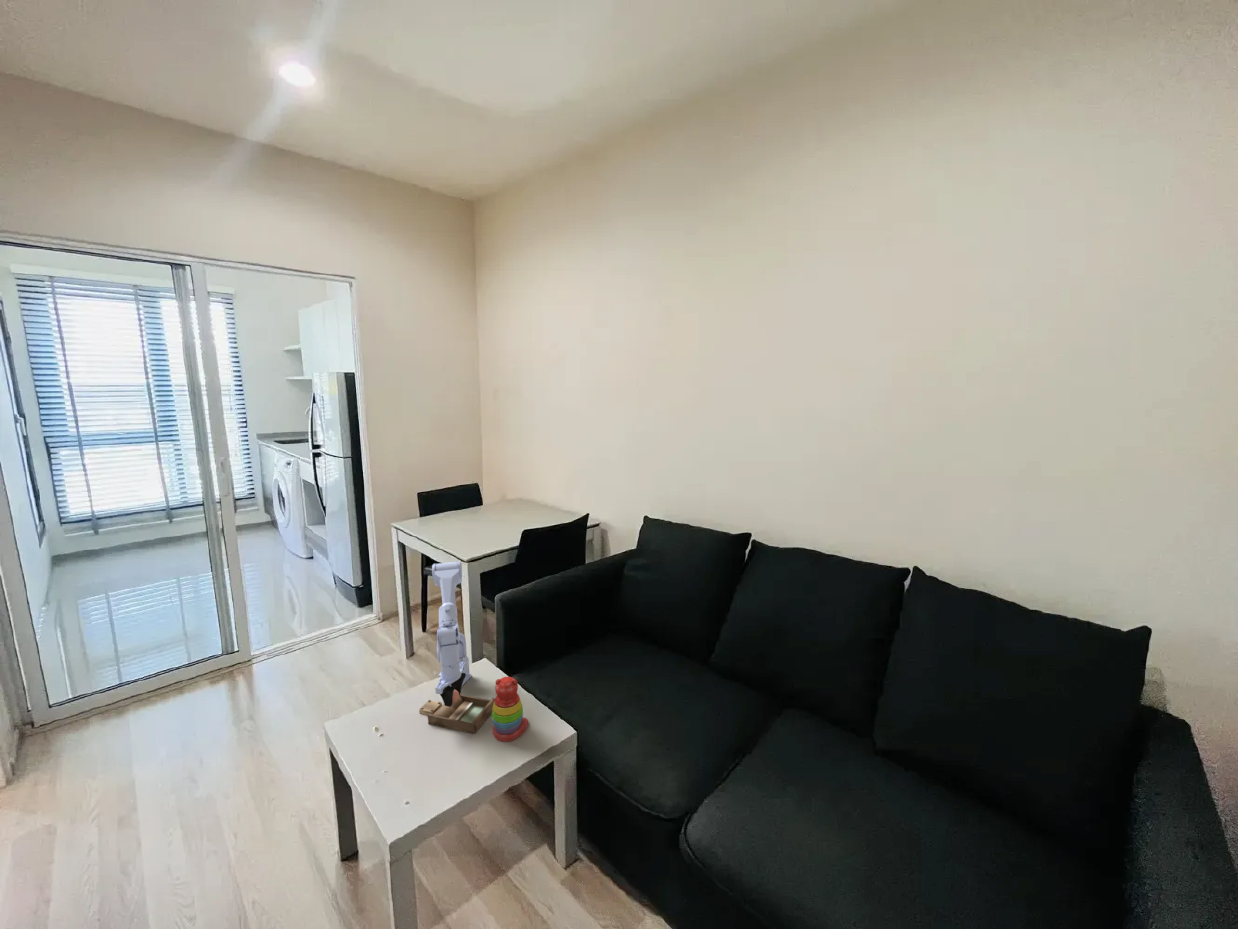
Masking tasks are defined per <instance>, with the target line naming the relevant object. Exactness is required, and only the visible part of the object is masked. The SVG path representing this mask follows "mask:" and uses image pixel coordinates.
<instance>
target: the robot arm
mask: <svg viewBox="0 0 1238 929" xmlns="http://www.w3.org/2000/svg"><path fill="white" fill-rule="evenodd" d="M431 575H432V581H433V584H434V585H435V586H436V587H440V593H441V594H440V595H441V601H442V602H441V603H442V605H440V606H439V607H438V629H437V631H436V640H437V641H436V658H437V660H436V661H437V662H439V663H440V672H439V673H438V677H439V680H438V683H437V685H436V686H435V688H434V690H435V694H436V695H440V697H441V699H442V701H443V702H442V703H443V704H445V706H449V707H451V706H452V700H453V692H454V689H455V690H457V691H458V692H459V696H460V694H461V692H462V687H463V685H464V684H465V683H466V682H468V681H469V679H470V678H471V677H472V676H473V675H472V673H470V660H469V656H468V655H467V640H466V636H465V634H463V633H462V632H460V627H459V621H458V607H457V602H456V588H457V585H459V584H462V581H463V565H462V561H461V560H459V561H450V562H443V563H433V564H432V565H431Z"/></svg>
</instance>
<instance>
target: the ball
mask: <svg viewBox="0 0 1238 929" xmlns="http://www.w3.org/2000/svg"><path fill="white" fill-rule="evenodd" d="M458 699H459V692H458V691H457V690H455V689H454V692H453V700H452V704H454V703H456V702H457V701H458Z"/></svg>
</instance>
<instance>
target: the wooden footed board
mask: <svg viewBox="0 0 1238 929" xmlns="http://www.w3.org/2000/svg"><path fill="white" fill-rule="evenodd" d="M442 705H443V702H441V701H436V700H435V701H434V700H431V699H428V700H427V701H426V702H425V703H424V704H423V705H422V706H421V707H420V708H419V714H421V715H425V716H428V715H429V714H431V715H433V714H434V713H435V712H436V711H437V710H438V709H439V708H440V707H441V706H442Z"/></svg>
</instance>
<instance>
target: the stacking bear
mask: <svg viewBox="0 0 1238 929" xmlns="http://www.w3.org/2000/svg"><path fill="white" fill-rule="evenodd" d="M518 689H519V683H518V680H517V679H515V678H514V677H511V676H504V677H502V678H498V679H496V680H495V695H496V696H495V697H494V698H495V700H494V703H493V708H492V714H491V721H492V723H493V724H492V735H493V737H494V738H495V740H497V741H499V742H504V743H505V742H512V741H515V740H516V739H518V738H520V737H521V736H523V734H524V733H525V732H526V731H527V729H528V726H529V725H530V724H529V719H527V717H524V716H523V715H524V707H523V703H522V700H521V697H520V695H519V693H518Z"/></svg>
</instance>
